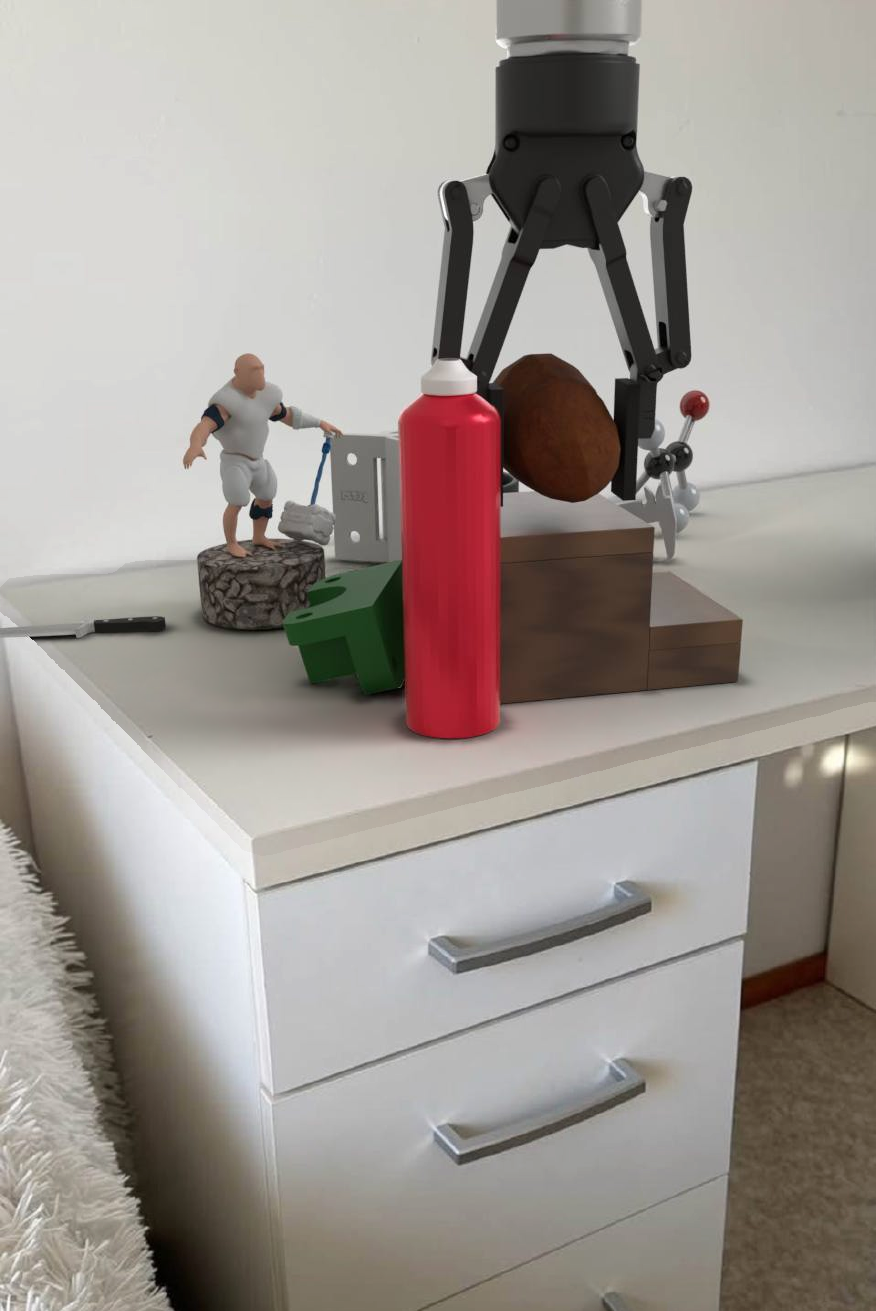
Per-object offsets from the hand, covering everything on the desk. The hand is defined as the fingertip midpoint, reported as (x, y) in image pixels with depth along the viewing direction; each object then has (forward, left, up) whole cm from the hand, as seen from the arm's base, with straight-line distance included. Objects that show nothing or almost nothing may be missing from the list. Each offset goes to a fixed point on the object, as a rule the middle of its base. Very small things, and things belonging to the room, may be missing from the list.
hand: (558, 498), depth 83 cm
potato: (-1, -3, 0) cm, 3 cm away
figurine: (+16, -20, -12) cm, 28 cm away
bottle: (+8, +5, -12) cm, 15 cm away
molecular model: (-23, -40, -11) cm, 47 cm away
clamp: (+11, -6, -12) cm, 17 cm away
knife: (+30, -18, -11) cm, 37 cm away
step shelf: (-3, -3, -11) cm, 12 cm away
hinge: (+3, -30, -11) cm, 32 cm away
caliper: (-9, -31, -12) cm, 34 cm away
